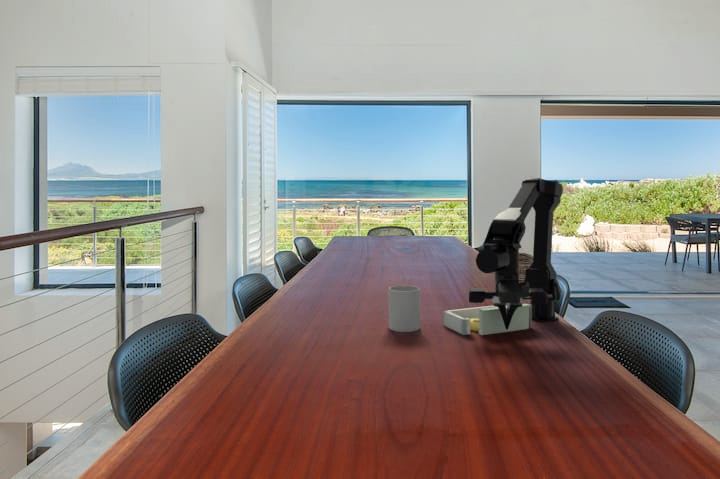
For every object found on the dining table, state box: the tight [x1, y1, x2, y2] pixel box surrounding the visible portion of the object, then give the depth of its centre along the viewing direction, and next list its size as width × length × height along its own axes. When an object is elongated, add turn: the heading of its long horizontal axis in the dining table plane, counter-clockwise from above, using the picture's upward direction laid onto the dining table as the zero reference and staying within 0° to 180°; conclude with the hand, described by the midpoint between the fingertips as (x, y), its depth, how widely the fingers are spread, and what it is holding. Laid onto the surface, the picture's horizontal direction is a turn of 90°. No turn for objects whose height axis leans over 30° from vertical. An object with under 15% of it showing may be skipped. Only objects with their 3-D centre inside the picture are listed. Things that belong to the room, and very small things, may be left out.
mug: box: [388, 284, 421, 333], centre depth 127 cm, size 12×8×11 cm
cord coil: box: [470, 318, 479, 332], centre depth 125 cm, size 6×6×2 cm
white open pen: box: [442, 303, 533, 336], centre depth 126 cm, size 20×12×6 cm, turn 110°
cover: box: [478, 303, 531, 336], centre depth 121 cm, size 15×2×7 cm, turn 111°
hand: (506, 329), depth 116 cm, fingers closed
